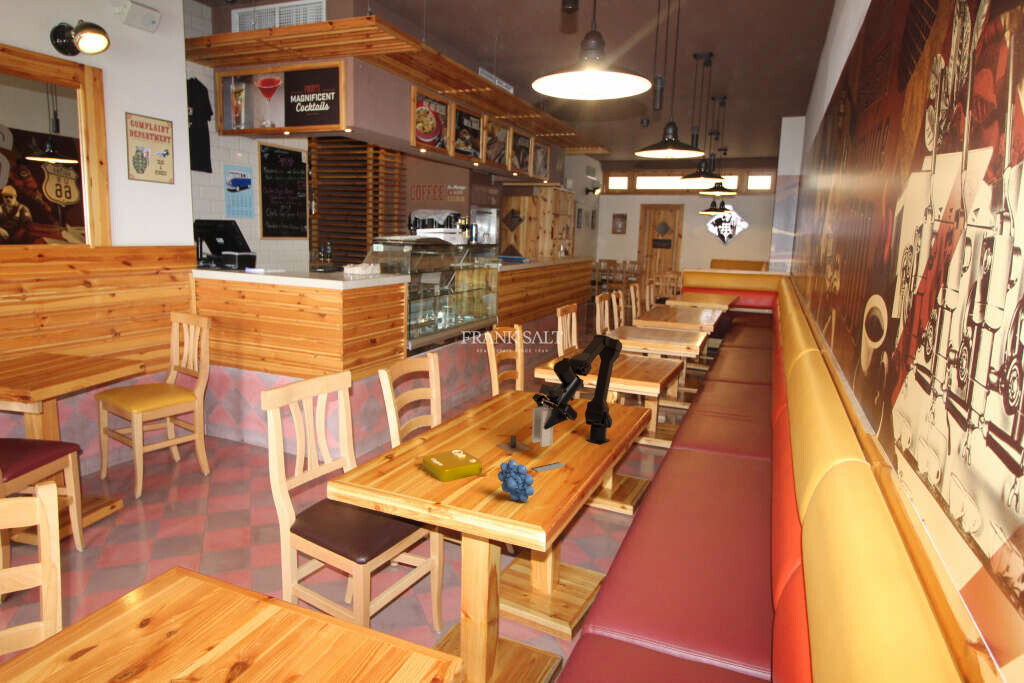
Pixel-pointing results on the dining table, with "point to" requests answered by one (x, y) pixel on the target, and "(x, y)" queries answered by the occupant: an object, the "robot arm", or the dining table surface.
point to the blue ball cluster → (516, 481)
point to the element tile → (452, 465)
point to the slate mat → (548, 467)
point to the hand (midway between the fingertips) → (539, 426)
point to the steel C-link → (542, 426)
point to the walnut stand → (514, 446)
